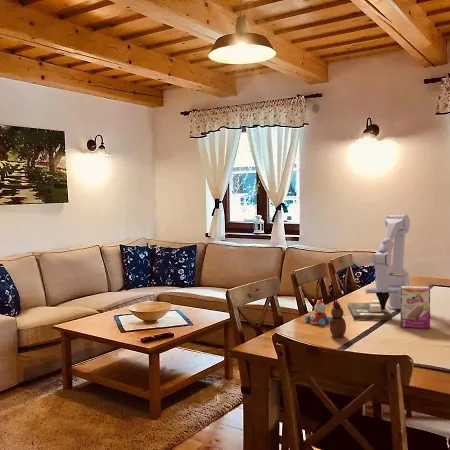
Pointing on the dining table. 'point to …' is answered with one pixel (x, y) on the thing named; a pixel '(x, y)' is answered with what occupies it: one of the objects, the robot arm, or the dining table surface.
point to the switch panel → (367, 312)
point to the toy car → (318, 315)
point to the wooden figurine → (337, 320)
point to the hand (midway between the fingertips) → (382, 309)
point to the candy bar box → (415, 307)
